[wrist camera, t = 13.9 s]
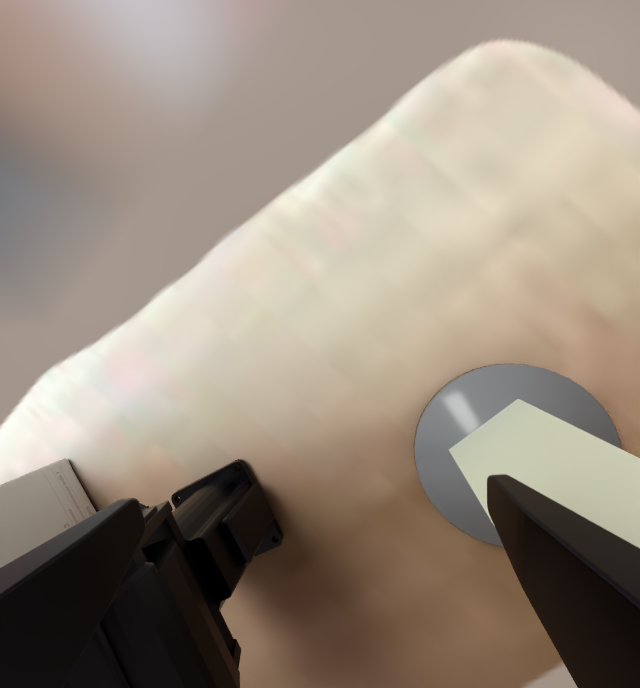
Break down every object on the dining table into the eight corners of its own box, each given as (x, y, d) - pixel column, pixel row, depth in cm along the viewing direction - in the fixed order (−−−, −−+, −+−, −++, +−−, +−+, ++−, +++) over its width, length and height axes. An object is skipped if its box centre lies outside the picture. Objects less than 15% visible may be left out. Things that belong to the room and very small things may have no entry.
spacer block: (506, 515, 18) (712, 810, 7) (448, 449, 18) (556, 631, 7) (581, 466, 17) (952, 715, 6) (518, 398, 17) (759, 516, 6)
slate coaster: (468, 566, 19) (471, 574, 18) (382, 413, 19) (382, 416, 19) (653, 499, 17) (663, 505, 16) (550, 330, 17) (556, 330, 17)
